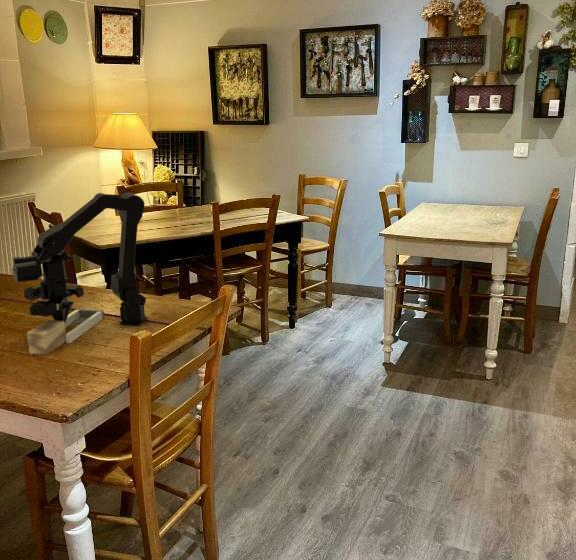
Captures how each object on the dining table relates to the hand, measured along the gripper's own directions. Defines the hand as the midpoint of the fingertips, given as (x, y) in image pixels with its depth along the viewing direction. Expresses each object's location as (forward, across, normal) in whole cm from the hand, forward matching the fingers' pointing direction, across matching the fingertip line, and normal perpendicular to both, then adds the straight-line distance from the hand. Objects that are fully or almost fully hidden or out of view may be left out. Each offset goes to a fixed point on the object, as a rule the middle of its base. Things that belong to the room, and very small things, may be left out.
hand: (61, 328), depth 169 cm
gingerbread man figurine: (+3, -29, -21) cm, 36 cm away
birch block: (+3, +7, 0) cm, 7 cm away
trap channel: (+3, -6, 0) cm, 7 cm away
